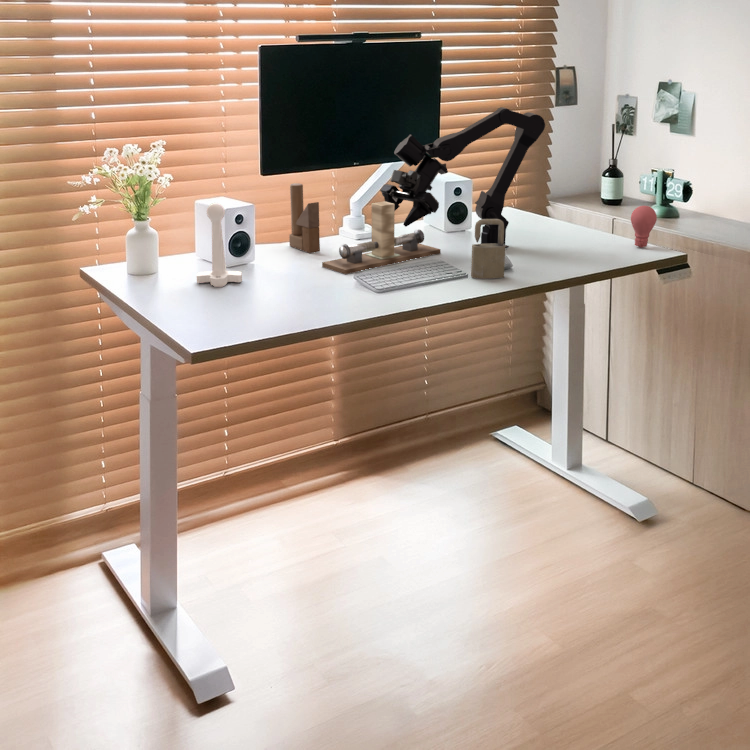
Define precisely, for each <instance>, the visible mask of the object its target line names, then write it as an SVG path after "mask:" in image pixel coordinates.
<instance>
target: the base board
mask: <svg viewBox="0 0 750 750" xmlns="http://www.w3.org/2000/svg"><path fill="white" fill-rule="evenodd" d="M439 254H441V249H440V248H437V247H434V246H431V245H425V244H423V243H418V250H417V251H412V252H410V251H407V250H403V245H398V246H394V255H392V256H386V257H379V256H376V255H373V254H372V251H369V252H365V253H362V262H361V263H356V264H354V263H351V262H348V261H347V259H343V258H342V257H341V258H337V259H333V260H332V259H331V260H328V261H323V262H322V263H321V266H322V268H325V269H328V270H331V271H334V272H337V273H340V274H343V275H348V274H349V275H350V274H353V273H358V271H359V272H362V271H361V270H363V271H366V270H365V269H368V270H370V269H369V268H372V269H376V268H375V267H377V268H380V267H386V266H389V265H394V263H395V264H398V262H399V263H403V262H402V261H404V262H407V261H406V260H408V261H411V260H410V259H413V260H416V259H415V258H417V259H420V257H422V258H426V257H430V256H434V255H439Z"/></svg>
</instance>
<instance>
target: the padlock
mask: <svg viewBox="0 0 750 750" xmlns="http://www.w3.org/2000/svg"><path fill="white" fill-rule="evenodd" d="M484 225H498V244H496V243H489V244H481V243H479V242H480V240H481V233H482V229H481V227H482V226H484ZM474 238H475V241H476V243H475V244H474V243H473V244H471V265H470V266H471V267H470V268H471V269H470V275H471V278H472V279H480V280H481V279H482V280H483V279H484V280H485V279H486V280H487V279H490V280H491V279H502V278H505V264H506V263H505V262H506V248H505V247H506V246H505V245H506V244H505V245H504V244H503V240H504V223H503V221H501V220H500V219H481V218H480V219H479V220H478V221H476V222H475V226H474Z"/></svg>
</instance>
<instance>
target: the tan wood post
mask: <svg viewBox="0 0 750 750" xmlns="http://www.w3.org/2000/svg"><path fill="white" fill-rule="evenodd" d="M395 212H396V210H395V204H393V203H389V202H385V200H383V201H379V202H372V203H371V241H373V242H374V244H375V250H374V251H371V252H372V254H373V255H376V256H379V257H386V256H392V255H394V247H395V246H394V237H395V214H396V213H395Z"/></svg>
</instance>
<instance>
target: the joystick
mask: <svg viewBox="0 0 750 750" xmlns="http://www.w3.org/2000/svg"><path fill="white" fill-rule="evenodd" d="M225 214H226V211H225V208H224V206H223V205H222V204H220V203H218V202H214V203H211V204H209V205H208V207H207V208H206V215H207V217H208V219H209V220H210V223H211V270H210V271H199V272H197V273H196V282H197V284H200V283H201V284H202V283H210V285H211V286H212V285H213V286H214V288H222V287H225V286H226V285H227V283H242V282H243V272H242V271H237V270H227V262H226V257H225V256H226V255H225V246H224V245H225V244H224V237H223V229H222V220H223V218H224V217H225ZM213 286H212V287H213Z"/></svg>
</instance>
